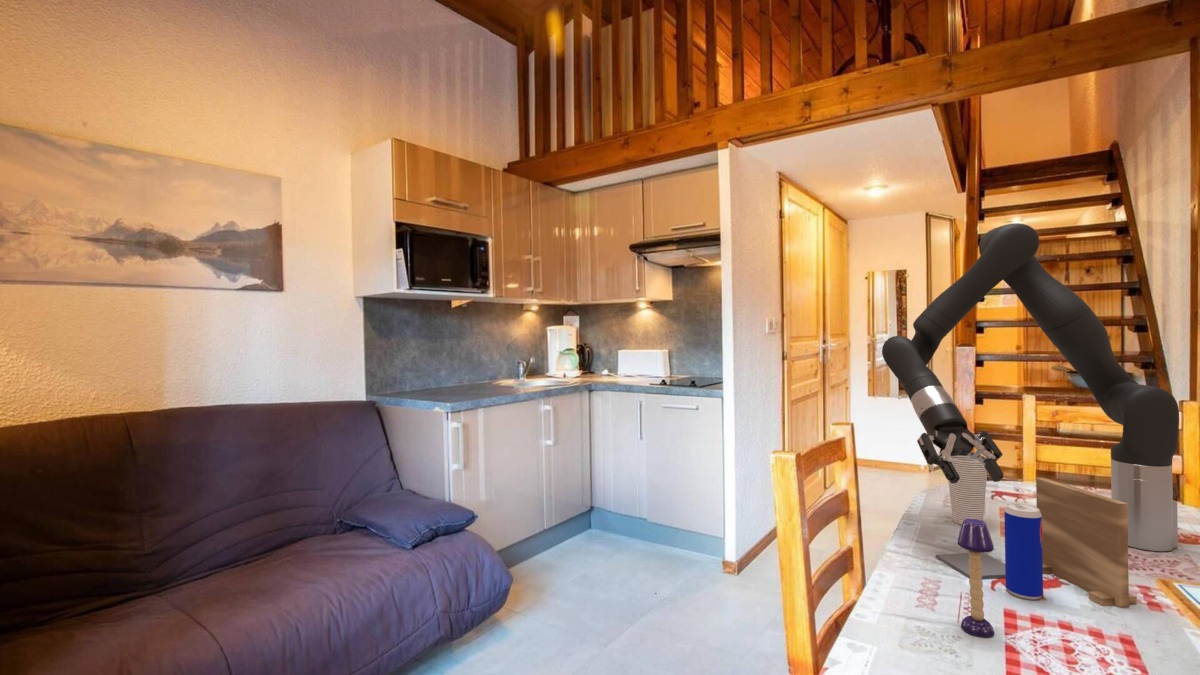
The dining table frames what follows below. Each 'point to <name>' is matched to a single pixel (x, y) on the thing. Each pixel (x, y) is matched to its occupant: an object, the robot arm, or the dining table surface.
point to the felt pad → (961, 564)
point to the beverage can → (1023, 551)
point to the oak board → (1085, 541)
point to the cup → (968, 489)
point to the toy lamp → (976, 574)
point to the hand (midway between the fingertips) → (977, 480)
